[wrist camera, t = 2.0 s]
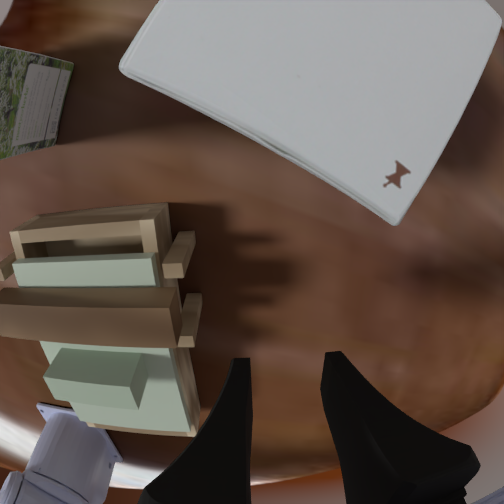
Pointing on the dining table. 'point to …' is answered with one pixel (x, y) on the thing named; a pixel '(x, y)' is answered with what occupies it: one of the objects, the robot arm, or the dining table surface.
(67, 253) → the tan wooden frame
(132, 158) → the dining table surface
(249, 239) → the dining table surface
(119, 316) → the light brown wooden bar
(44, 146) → the syrup box
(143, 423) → the lid
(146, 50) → the supplement box
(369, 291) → the dining table surface
